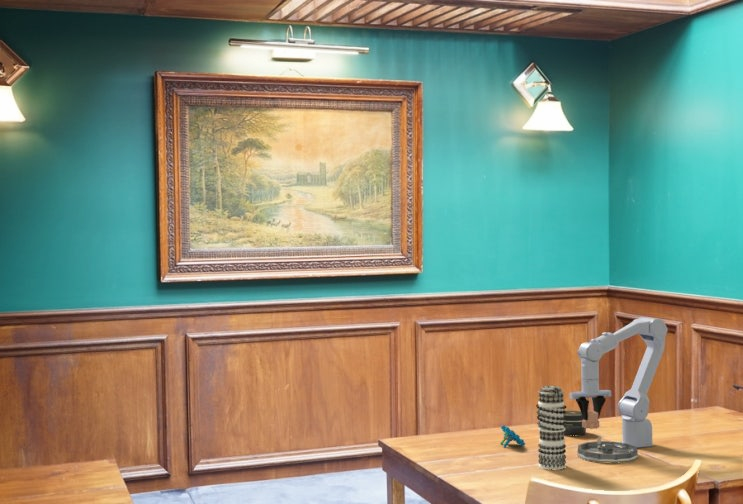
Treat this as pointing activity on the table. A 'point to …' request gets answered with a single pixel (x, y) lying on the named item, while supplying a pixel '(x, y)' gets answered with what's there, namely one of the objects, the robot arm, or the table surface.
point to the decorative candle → (551, 428)
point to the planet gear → (591, 420)
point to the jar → (573, 423)
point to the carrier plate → (616, 451)
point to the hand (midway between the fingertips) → (590, 419)
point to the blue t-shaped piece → (511, 437)
